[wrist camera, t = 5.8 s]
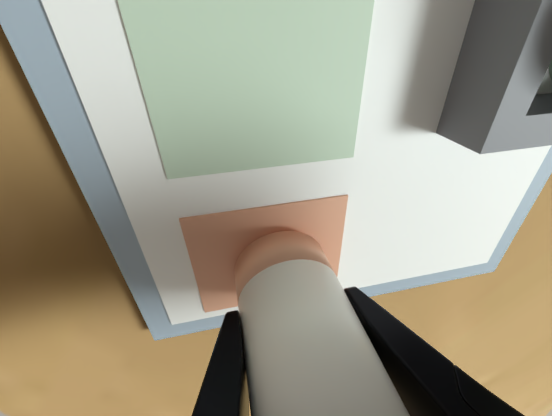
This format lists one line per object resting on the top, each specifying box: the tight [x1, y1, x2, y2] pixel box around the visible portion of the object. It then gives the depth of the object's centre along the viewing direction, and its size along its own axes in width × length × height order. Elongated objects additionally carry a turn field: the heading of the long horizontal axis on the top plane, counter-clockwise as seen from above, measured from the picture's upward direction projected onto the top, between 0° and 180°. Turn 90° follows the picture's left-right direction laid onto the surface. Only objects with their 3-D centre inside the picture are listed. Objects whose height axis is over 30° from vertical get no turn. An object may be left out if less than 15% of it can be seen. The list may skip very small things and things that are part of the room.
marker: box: [234, 231, 410, 416], centre depth 8 cm, size 4×4×8 cm
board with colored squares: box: [0, 0, 552, 340], centre depth 9 cm, size 18×15×3 cm
